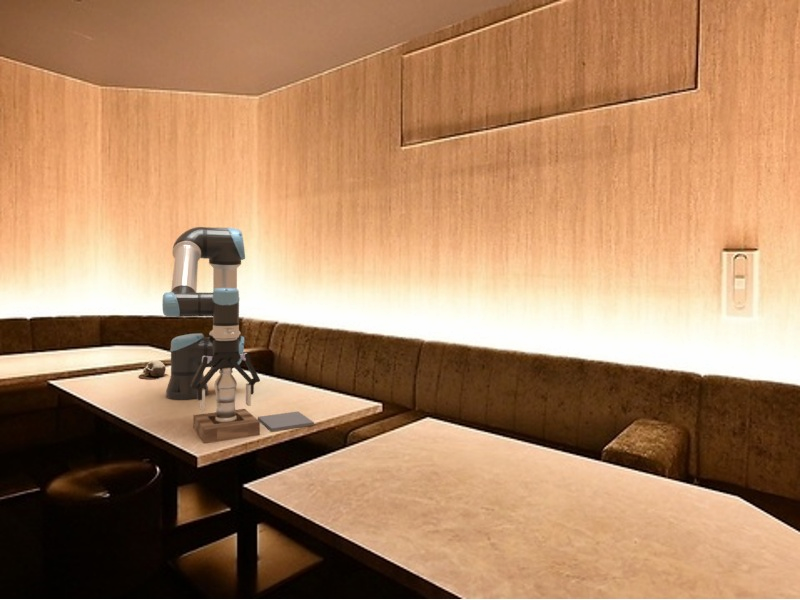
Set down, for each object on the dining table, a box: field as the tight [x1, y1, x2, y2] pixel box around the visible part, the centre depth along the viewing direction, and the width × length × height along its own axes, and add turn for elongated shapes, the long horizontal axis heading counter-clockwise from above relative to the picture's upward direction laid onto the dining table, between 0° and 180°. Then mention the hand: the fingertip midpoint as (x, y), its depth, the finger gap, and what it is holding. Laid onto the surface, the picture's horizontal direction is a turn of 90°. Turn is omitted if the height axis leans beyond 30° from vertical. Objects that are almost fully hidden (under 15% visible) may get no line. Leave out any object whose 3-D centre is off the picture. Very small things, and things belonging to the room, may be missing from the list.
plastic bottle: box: [214, 367, 238, 424], centre depth 162 cm, size 6×7×20 cm
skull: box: [138, 359, 169, 380], centre depth 236 cm, size 12×10×10 cm
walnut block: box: [192, 408, 261, 444], centre depth 163 cm, size 16×16×4 cm
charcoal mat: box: [257, 411, 315, 432], centre depth 173 cm, size 14×14×1 cm
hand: (226, 407), depth 163 cm, fingers open, 13 cm apart
